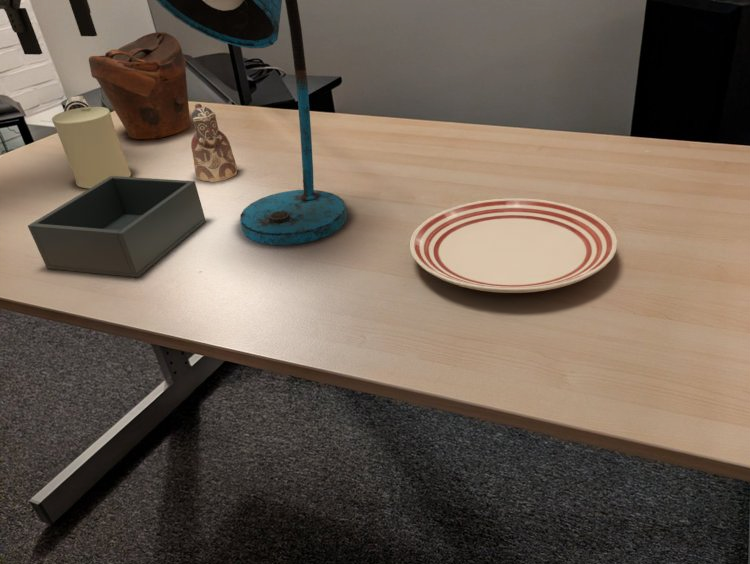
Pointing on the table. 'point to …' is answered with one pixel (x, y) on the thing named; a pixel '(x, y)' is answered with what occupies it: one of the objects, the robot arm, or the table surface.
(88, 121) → the can
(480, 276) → the dinner plate
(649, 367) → the table surface
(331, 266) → the table surface
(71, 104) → the watch
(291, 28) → the desk lamp
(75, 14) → the robot arm
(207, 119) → the figurine
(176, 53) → the case
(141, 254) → the bus tub
